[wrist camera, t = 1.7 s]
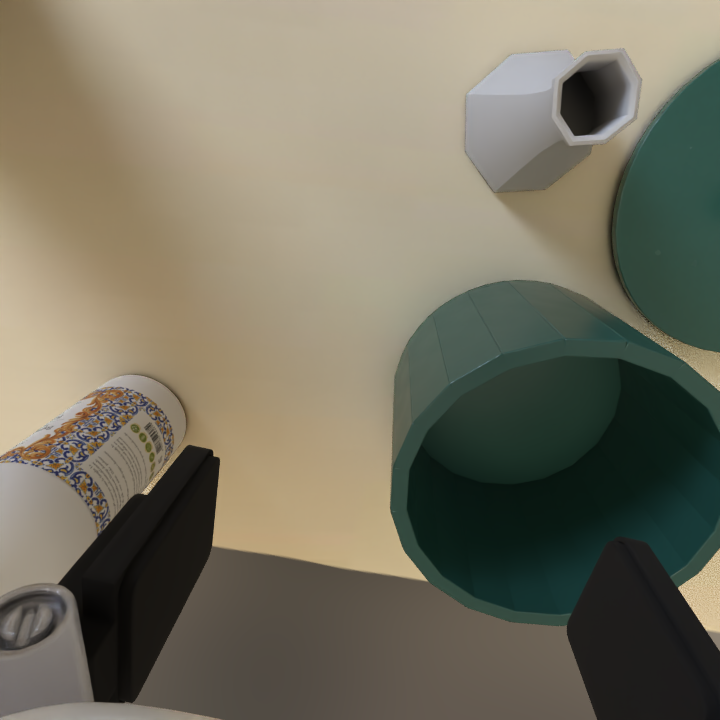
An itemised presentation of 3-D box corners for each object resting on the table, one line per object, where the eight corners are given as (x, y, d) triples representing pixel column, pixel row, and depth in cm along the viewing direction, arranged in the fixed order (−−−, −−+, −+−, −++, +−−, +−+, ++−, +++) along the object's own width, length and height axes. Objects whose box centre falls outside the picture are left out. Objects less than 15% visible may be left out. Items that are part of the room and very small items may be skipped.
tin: (366, 316, 31) (349, 390, 20) (615, 249, 28) (744, 294, 18) (424, 506, 36) (434, 644, 26) (640, 464, 34) (752, 599, 23)
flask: (607, 164, 27) (717, 159, 18) (482, 213, 28) (523, 232, 19) (579, 24, 25) (687, -68, 15) (444, 84, 26) (469, 35, 17)
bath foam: (145, 354, 33) (-172, 578, 15) (208, 428, 35) (-6, 710, 17) (79, 400, 35) (-278, 651, 17) (141, 468, 37) (-117, 763, 19)
